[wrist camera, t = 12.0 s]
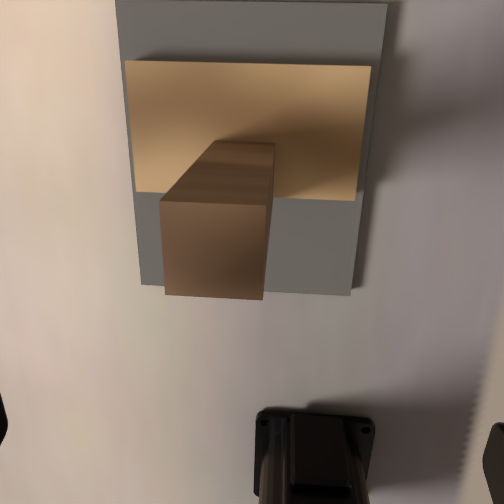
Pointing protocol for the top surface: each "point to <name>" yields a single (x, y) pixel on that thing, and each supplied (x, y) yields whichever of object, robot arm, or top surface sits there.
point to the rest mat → (267, 52)
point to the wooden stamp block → (238, 158)
